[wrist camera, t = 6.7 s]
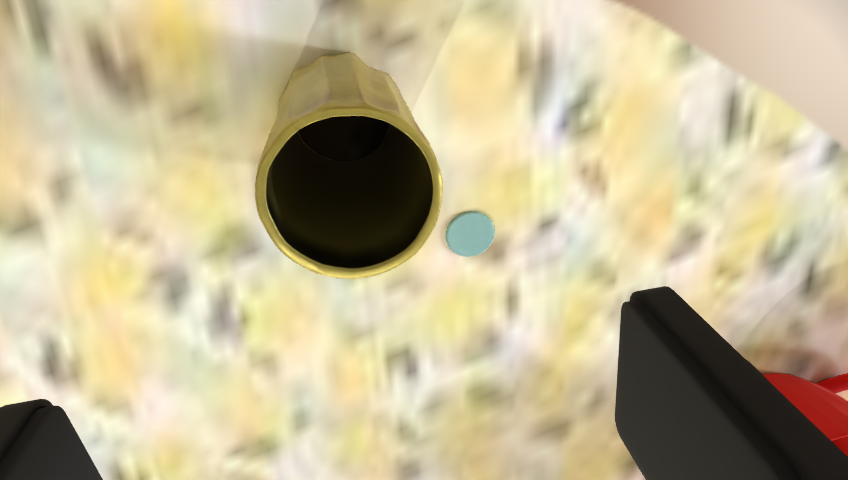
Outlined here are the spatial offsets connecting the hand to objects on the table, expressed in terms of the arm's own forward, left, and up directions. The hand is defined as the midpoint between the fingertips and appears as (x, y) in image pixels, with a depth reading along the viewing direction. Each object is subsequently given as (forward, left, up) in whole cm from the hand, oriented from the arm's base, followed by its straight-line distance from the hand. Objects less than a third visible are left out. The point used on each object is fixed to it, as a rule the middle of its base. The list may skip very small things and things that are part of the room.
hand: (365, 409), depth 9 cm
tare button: (+7, +5, -19) cm, 21 cm away
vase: (0, 0, -22) cm, 22 cm away
